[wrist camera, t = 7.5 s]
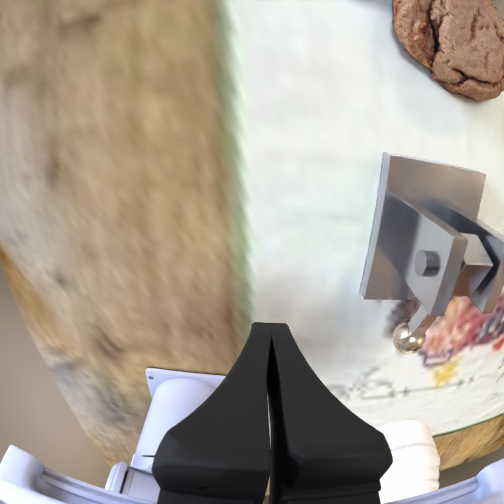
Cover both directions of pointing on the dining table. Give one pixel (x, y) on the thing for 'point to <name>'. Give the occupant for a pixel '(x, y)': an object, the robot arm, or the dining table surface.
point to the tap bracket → (428, 235)
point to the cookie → (455, 43)
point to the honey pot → (409, 461)
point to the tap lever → (470, 276)
